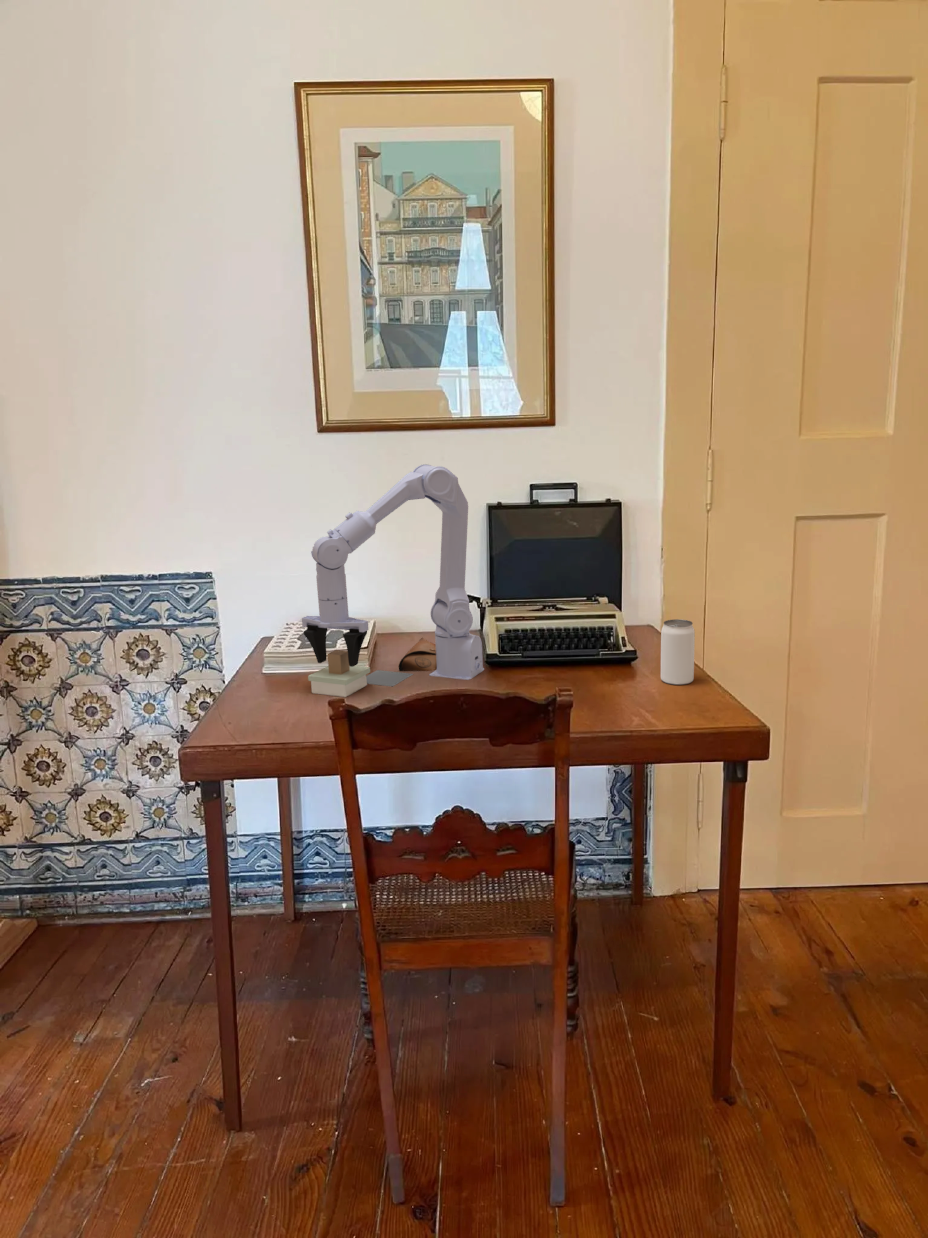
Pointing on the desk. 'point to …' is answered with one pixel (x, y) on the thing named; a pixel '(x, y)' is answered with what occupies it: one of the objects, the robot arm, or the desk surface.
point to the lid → (339, 670)
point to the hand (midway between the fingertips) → (337, 663)
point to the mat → (386, 678)
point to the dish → (338, 687)
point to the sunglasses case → (420, 657)
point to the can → (677, 652)
